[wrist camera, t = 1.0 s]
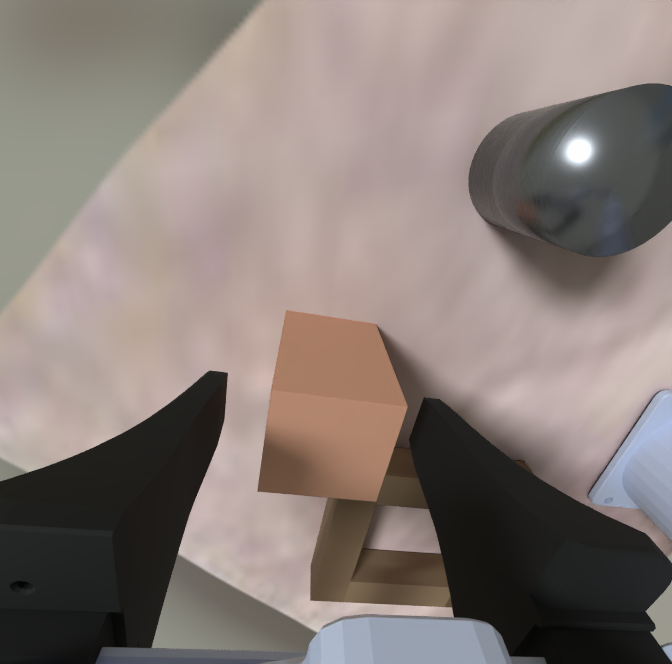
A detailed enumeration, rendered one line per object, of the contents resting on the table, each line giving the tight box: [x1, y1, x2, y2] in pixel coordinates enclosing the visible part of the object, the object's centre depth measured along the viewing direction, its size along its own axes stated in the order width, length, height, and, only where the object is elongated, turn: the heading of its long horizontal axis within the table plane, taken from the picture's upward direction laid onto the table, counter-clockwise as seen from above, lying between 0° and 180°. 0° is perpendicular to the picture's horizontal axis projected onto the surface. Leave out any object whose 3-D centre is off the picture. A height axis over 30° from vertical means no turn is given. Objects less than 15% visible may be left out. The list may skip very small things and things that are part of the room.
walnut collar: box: [310, 447, 534, 607], centre depth 21 cm, size 10×10×2 cm
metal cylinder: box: [469, 84, 672, 257], centre depth 11 cm, size 4×4×5 cm
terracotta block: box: [258, 310, 408, 502], centre depth 14 cm, size 4×4×6 cm
